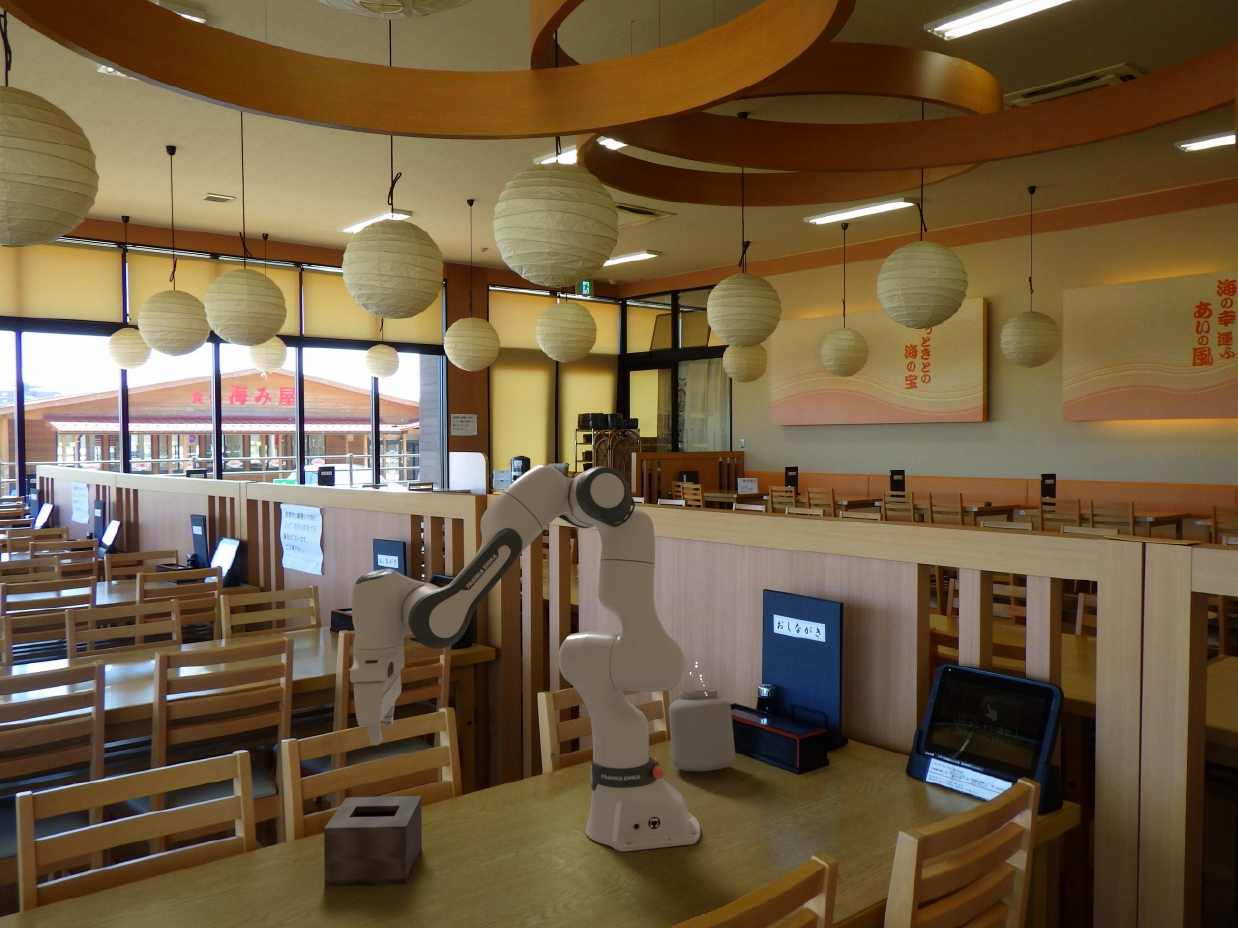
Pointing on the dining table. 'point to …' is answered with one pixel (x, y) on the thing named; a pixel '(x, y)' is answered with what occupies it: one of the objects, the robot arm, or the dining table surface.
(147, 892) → the dining table surface
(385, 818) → the tip box
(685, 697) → the jar
